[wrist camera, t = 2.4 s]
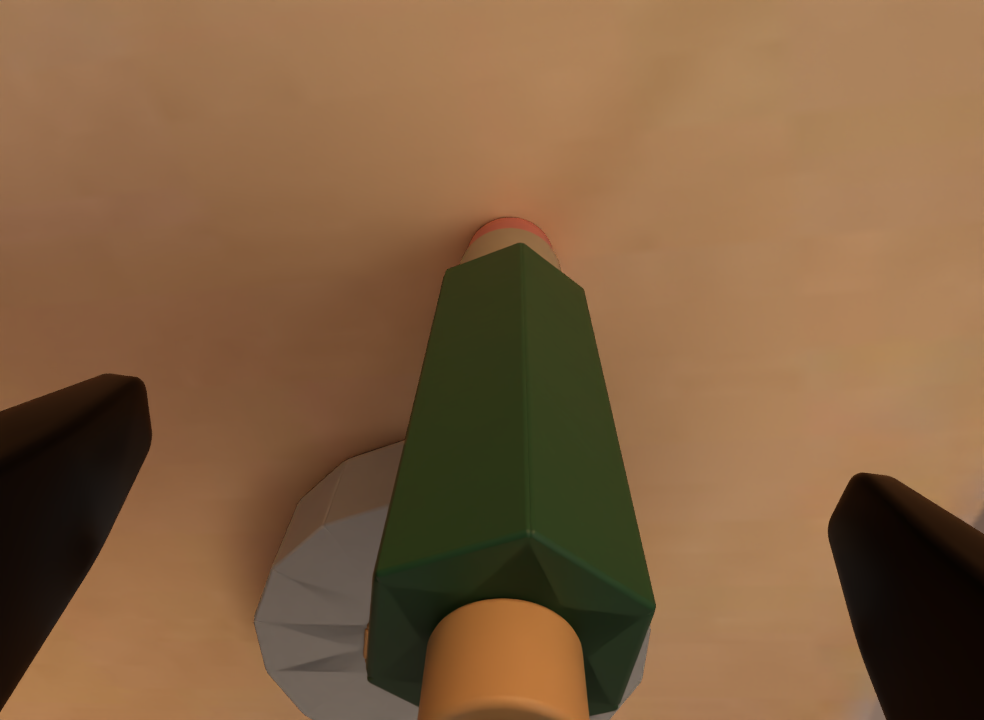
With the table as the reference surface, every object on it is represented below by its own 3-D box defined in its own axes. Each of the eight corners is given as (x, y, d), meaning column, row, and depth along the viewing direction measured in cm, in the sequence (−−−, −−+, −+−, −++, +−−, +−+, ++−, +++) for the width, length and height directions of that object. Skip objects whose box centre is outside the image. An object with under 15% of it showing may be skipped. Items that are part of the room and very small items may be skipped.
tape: (383, 713, 23) (368, 794, 21) (216, 500, 18) (174, 573, 16) (673, 644, 21) (692, 726, 18) (563, 385, 16) (571, 451, 14)
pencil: (446, 309, 15) (319, 920, 5) (460, 186, 14) (326, 700, 4) (554, 324, 16) (628, 951, 5) (579, 203, 14) (739, 745, 4)
